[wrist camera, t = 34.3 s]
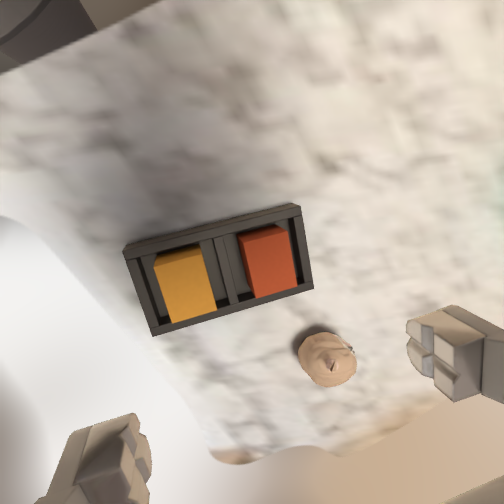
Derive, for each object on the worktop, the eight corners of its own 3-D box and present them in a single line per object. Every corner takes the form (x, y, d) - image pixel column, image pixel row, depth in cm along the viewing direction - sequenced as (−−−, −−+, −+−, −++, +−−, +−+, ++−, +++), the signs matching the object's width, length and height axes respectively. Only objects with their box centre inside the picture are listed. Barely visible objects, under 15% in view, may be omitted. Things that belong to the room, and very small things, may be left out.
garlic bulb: (338, 317, 40) (375, 353, 32) (341, 360, 41) (378, 403, 34) (289, 330, 38) (315, 370, 31) (295, 373, 40) (321, 421, 33)
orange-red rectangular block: (235, 234, 33) (243, 242, 29) (275, 223, 34) (287, 230, 30) (247, 284, 35) (255, 299, 31) (285, 274, 36) (297, 286, 32)
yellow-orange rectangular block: (156, 255, 32) (153, 266, 28) (199, 243, 33) (201, 253, 29) (172, 306, 34) (171, 324, 30) (213, 294, 34) (217, 310, 31)
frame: (126, 244, 32) (121, 251, 29) (292, 202, 34) (300, 205, 32) (154, 325, 34) (152, 337, 32) (305, 280, 37) (314, 288, 35)
